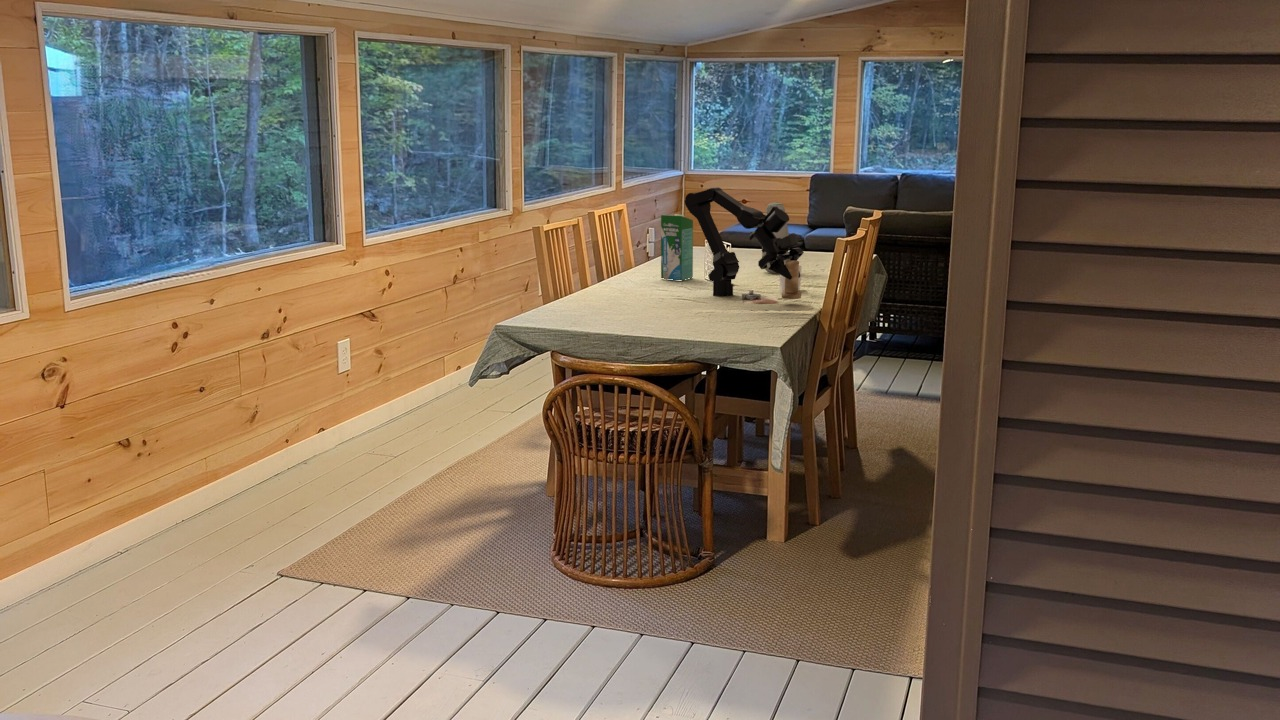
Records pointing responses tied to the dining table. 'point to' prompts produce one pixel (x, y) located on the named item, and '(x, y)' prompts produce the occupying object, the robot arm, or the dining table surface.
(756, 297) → the metal gear
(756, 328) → the dining table surface
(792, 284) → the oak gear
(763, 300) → the gear board
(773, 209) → the robot arm
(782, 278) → the white cup
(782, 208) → the grey bottle
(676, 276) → the milk carton
